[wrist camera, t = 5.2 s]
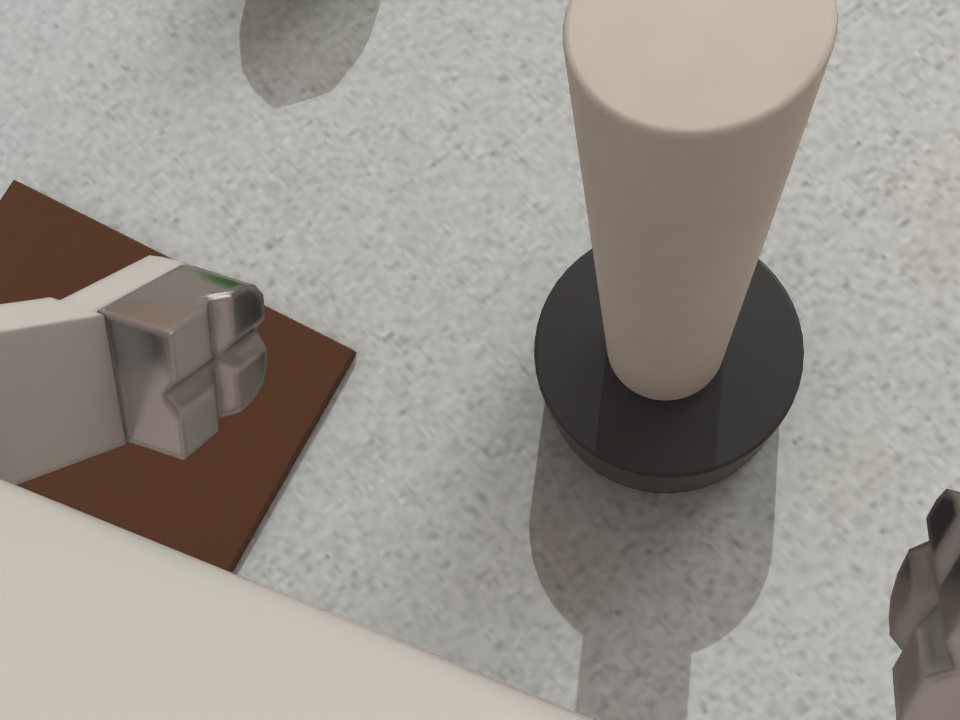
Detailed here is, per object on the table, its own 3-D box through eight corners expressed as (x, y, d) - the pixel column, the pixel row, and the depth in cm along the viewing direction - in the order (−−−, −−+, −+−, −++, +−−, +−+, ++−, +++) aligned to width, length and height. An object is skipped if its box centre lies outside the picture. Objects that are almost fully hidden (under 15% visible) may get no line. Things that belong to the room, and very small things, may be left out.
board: (90, 821, 21) (83, 823, 20) (-232, 558, 25) (-242, 558, 24) (357, 352, 23) (353, 349, 22) (20, 183, 27) (13, 179, 27)
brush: (721, 536, 20) (889, 426, 6) (509, 429, 21) (293, 168, 8) (820, 325, 20) (1144, -152, 7) (608, 240, 22) (560, -270, 9)
